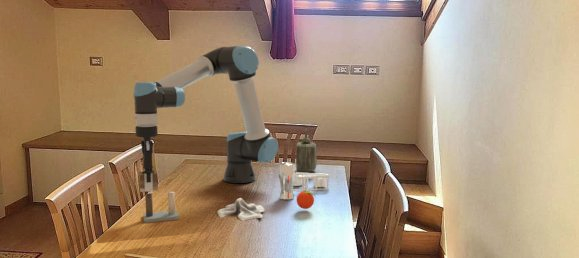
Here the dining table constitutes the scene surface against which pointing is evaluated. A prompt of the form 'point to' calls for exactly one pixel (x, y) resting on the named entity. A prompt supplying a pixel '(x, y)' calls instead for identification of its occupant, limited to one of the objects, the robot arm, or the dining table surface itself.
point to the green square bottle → (306, 155)
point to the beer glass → (286, 180)
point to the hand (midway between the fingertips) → (148, 188)
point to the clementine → (305, 199)
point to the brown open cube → (142, 181)
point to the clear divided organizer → (318, 178)
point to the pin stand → (162, 215)
